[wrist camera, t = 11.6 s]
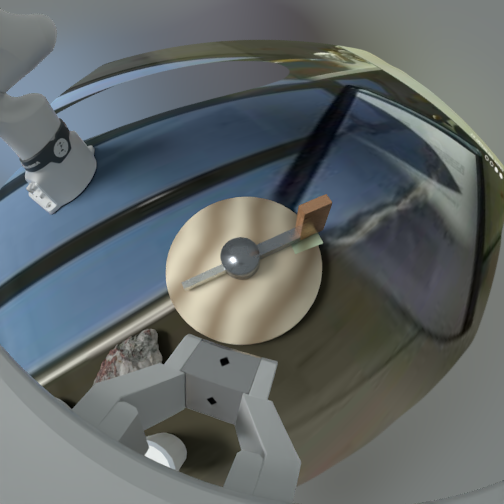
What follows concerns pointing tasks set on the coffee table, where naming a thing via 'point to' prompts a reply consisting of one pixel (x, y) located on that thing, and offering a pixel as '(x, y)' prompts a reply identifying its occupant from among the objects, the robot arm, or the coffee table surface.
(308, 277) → the stand
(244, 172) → the coffee table surface
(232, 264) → the grey pivot bar
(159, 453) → the white cylinder
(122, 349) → the mineral rock
